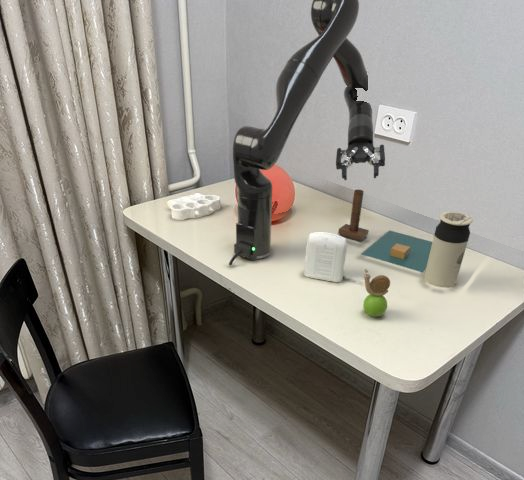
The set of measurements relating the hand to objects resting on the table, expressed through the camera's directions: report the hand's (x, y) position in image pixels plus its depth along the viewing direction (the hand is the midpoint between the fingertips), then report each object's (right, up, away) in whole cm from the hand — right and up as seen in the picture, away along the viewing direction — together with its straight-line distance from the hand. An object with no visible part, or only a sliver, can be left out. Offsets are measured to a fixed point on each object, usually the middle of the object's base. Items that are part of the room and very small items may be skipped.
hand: (360, 177), depth 145 cm
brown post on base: (-2, -18, +4) cm, 18 cm away
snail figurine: (-3, -42, -28) cm, 51 cm away
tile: (+12, -23, -3) cm, 26 cm away
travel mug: (+17, -33, -16) cm, 41 cm away
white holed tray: (-51, -4, +20) cm, 55 cm away
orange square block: (+10, -24, -6) cm, 26 cm away
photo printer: (-13, -32, -14) cm, 37 cm away
